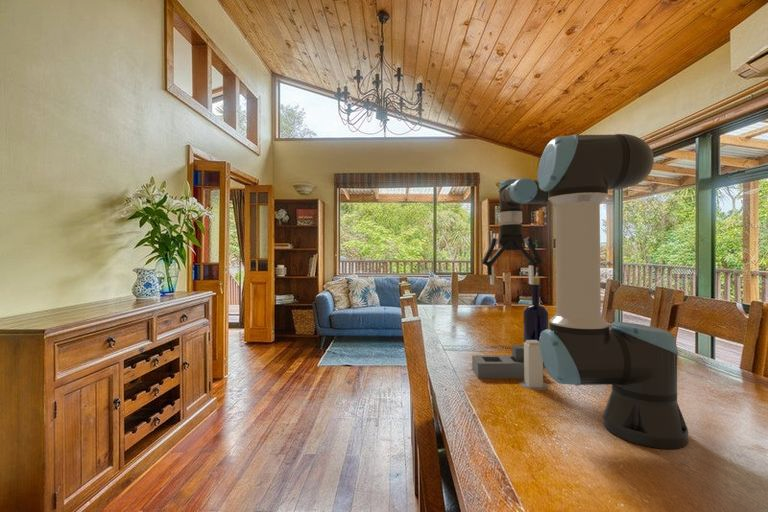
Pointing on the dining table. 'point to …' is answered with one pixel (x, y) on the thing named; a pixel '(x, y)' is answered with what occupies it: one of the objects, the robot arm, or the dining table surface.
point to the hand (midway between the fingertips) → (511, 284)
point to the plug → (533, 364)
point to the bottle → (535, 316)
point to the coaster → (533, 387)
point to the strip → (500, 364)
